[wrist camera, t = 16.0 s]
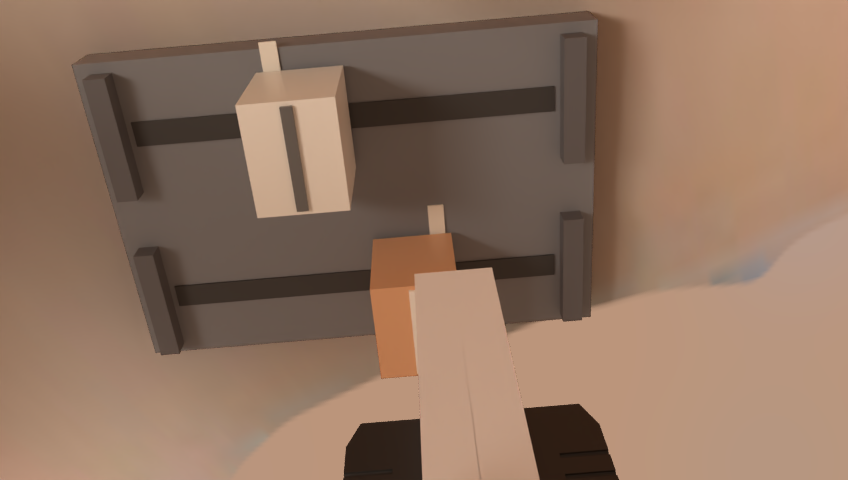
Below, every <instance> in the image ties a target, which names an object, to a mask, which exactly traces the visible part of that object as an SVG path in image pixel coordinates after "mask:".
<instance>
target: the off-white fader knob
mask: <svg viewBox="0 0 848 480" xmlns="http://www.w3.org/2000/svg"><path fill="white" fill-rule="evenodd" d="M235 107H236V112H237V117H238V123H239V128H240V133H241V138H242V143H243V148H244V153H245V158H246V163H247V168H248V173H249V178H250V183H251V188H252V193H253V198H254V203H255V208H256V213H257V218H266V217H278V216H290V215H302V214H314V213H325V212H337V211H349V210H351V202H352V194H353V187H354V179H355V172H356V163H355V155H354V147H353V139H352V131H351V124H350V116H349V108H348V100H347V92H346V85H345V77H344V69H343V65H340V66H329V67H317V68H306V69H294V70H282V71H271V72H259V73H255V75H254V77H253V78H252V80H251V81H250V83H249V84H248V86H247V88H246V89H245V91H244V92H243V94H242V95H241V97H240V99H239V100H238V102H237V103H236V105H235Z"/></svg>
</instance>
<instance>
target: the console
mask: <svg viewBox="0 0 848 480" xmlns="http://www.w3.org/2000/svg"><path fill="white" fill-rule="evenodd" d="M597 34H598V19H597V18H596V17H594V16H593V15H592V14H591V13H590V12H588V11H584V12H572V13H561V14H549V15H538V16H526V17H515V18H503V19H492V20H480V21H469V22H457V23H446V24H434V25H423V26H411V27H400V28H388V29H377V30H365V31H354V32H342V33H331V34H319V35H308V36H296V37H285V38H273V39H262V40H250V41H239V42H227V43H215V44H204V45H192V46H181V47H169V48H158V49H146V50H135V51H123V52H112V53H100V54H89V55H86V56H85V57H83V58H82V59H80V60H79V61H77V62H76V63H74V64H73V65H72V68H73V71H74V75H75V78H76V82H77V85H78V89H79V92H80V95H81V99H82V102H83V106H84V109H85V112H86V116H87V119H88V123H89V126H90V130H91V133H92V136H93V140H94V143H95V147H96V150H97V154H98V157H99V160H100V164H101V167H102V171H103V174H104V178H105V181H106V184H107V188H108V191H109V195H110V198H111V202H112V205H113V208H114V212H115V215H116V219H117V222H118V225H119V229H120V232H121V236H122V239H123V243H124V246H125V249H126V253H127V256H128V260H129V263H130V267H131V270H132V273H133V277H134V280H135V284H136V287H137V291H138V294H139V297H140V301H141V304H142V308H143V311H144V315H145V318H146V321H147V325H148V328H149V332H150V335H151V339H152V342H153V345H154V349H155V352H156V353H161V355H168V354H180V352H181V351H184V350H196V349H208V348H220V347H232V346H244V345H256V344H268V343H280V342H292V341H304V340H316V339H328V338H340V337H352V336H364V335H376V334H375V326H374V318H373V311H372V303H371V295H370V278H371V263H372V247H373V239H384V238H396V237H407V236H419V235H431V234H443V233H451V236H452V243H453V250H454V257H455V264H456V270H467V269H479V268H491V267H492V270H493V275H494V279H495V284H496V288H497V292H498V297H499V301H500V306H501V310H502V315H503V319H504V323H505V324H508V323H520V322H532V321H544V320H555V319H562V320H563V321H575V320H582V317H590V316H591V277H592V237H593V196H594V156H595V115H596V75H597ZM340 65H343V69H344V77H345V85H346V92H347V100H348V108H349V116H350V124H351V131H352V139H353V147H354V155H355V163H356V172H355V179H354V187H353V194H352V202H351V210H349V211H337V212H325V213H314V214H302V215H290V216H278V217H266V218H257V213H256V208H255V203H254V198H253V193H252V188H251V183H250V178H249V173H248V168H247V163H246V158H245V153H244V148H243V143H242V138H241V133H240V128H239V123H238V117H237V112H236V107H235V105H236V103H237V102H238V100H239V99H240V97H241V95H242V94H243V92H244V91H245V89H246V88H247V86H248V84H249V83H250V81H251V80H252V78H253V77H254V75H255V73H259V72H271V71H282V70H294V69H306V68H317V67H329V66H340Z"/></svg>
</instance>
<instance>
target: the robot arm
mask: <svg viewBox="0 0 848 480" xmlns="http://www.w3.org/2000/svg"><path fill="white" fill-rule="evenodd" d="M414 277H415V302H416V328H417V354H418V377H419V403H420V419H413V420H400V421H388V422H376V423H363V424H360V426H359V428H358V429H357V431H356V432H355V434H354V435H353V437H352V439H351V440H350V442H349V443H348V445H347V447H346V455H345V467H344V479H343V480H619V479H618V476H617V475H616V472H615V467H614V465H613V462H612V459H611V456H610V455H609V453H608V447H607V445H606V442H605V439H604V436H603V433H602V431H601V428H600V425H599V423H598V422H597V421H596V420H595V419H594V418H593V417H592V416H591V415H589V414H588V412H587V411H586V410H585V409H584V408H583V407H582V406H580V404H572V405H571V404H570V405H558V406H547V407H534V408H523V404H522V399H521V395H520V390H519V386H518V381H517V377H516V372H515V368H514V364H513V360H512V355H511V350H510V346H509V341H508V337H507V332H506V328H505V323H504V319H503V315H502V310H501V306H500V301H499V297H498V292H497V288H496V284H495V279H494V275H493V270H492V267H491V268H479V269H467V270H455V271H443V272H432V273H420V274H414Z"/></svg>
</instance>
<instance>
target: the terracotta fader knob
mask: <svg viewBox="0 0 848 480" xmlns="http://www.w3.org/2000/svg"><path fill="white" fill-rule="evenodd" d="M455 270H456V264H455V257H454V250H453V243H452V236H451V233H443V234H431V235H419V236H407V237H396V238H384V239H373V247H372V263H371V278H370V295H371V303H372V311H373V318H374V326H375V334H376V341H377V349H378V357H379V365H380V372H381V379H383V378H394V377H406V376H418V354H417V328H416V302H415V277H414V274H420V273H432V272H443V271H455Z"/></svg>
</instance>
